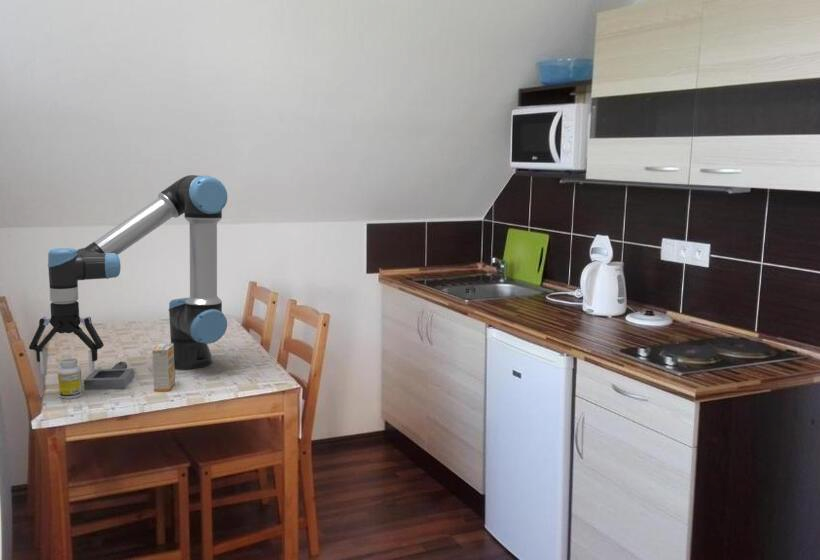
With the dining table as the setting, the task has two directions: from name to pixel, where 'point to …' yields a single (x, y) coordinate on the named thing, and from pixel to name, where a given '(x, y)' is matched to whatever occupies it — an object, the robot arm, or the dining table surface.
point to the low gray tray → (110, 378)
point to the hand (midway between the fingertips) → (68, 372)
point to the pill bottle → (69, 379)
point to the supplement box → (163, 367)
